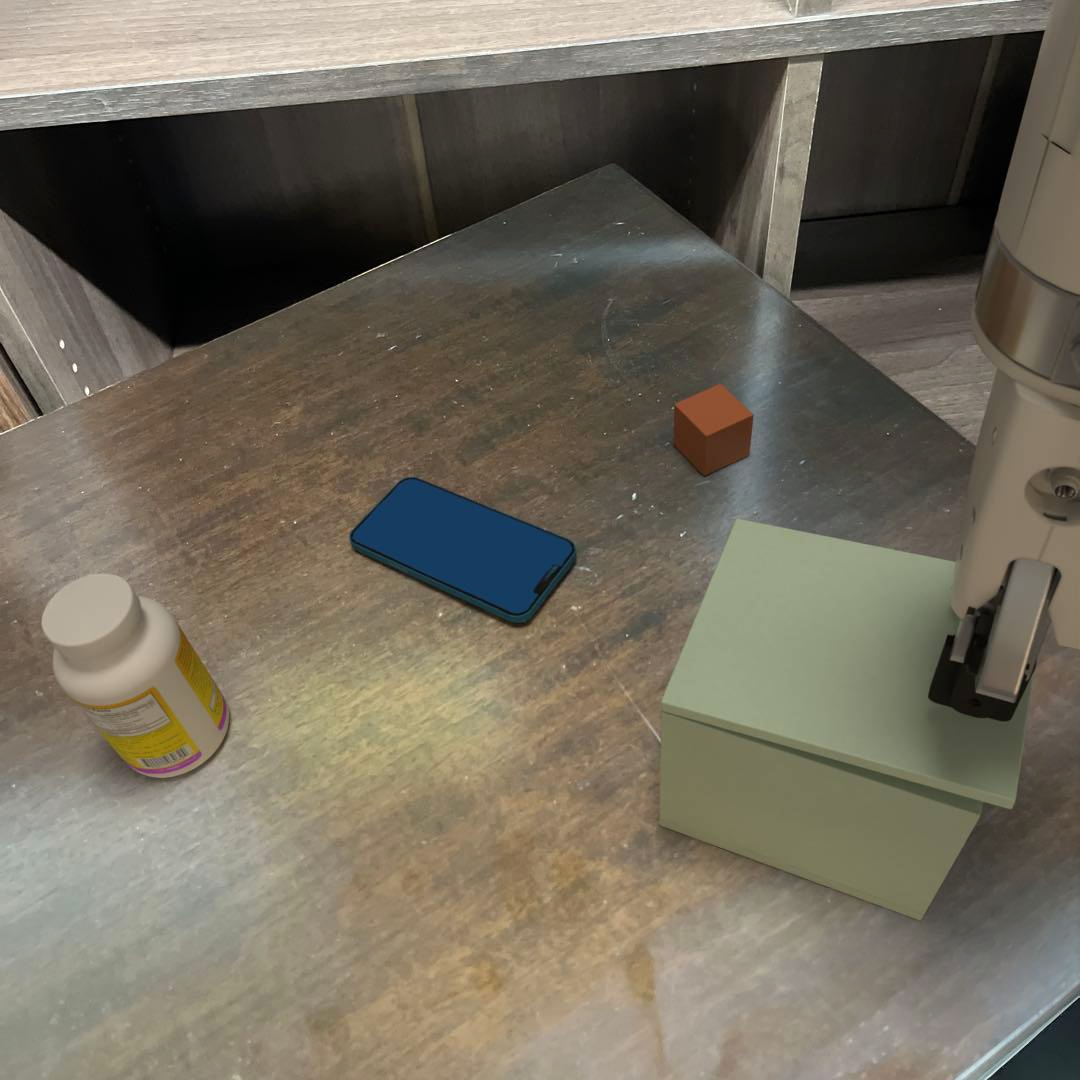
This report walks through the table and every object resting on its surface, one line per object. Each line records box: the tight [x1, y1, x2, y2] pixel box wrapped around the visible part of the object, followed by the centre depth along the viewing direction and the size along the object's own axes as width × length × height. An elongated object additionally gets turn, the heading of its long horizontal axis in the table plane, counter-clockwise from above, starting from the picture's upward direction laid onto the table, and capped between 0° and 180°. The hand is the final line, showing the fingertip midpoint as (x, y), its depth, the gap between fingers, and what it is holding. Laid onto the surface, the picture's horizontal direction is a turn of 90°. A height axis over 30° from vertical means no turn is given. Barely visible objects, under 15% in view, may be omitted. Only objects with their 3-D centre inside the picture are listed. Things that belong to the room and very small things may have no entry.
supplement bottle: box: [41, 572, 230, 779], centre depth 56 cm, size 7×7×13 cm
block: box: [672, 383, 755, 477], centre depth 71 cm, size 4×4×4 cm
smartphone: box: [348, 476, 578, 624], centre depth 68 cm, size 7×1×15 cm
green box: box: [658, 709, 984, 921], centre depth 51 cm, size 14×12×12 cm
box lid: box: [660, 518, 1036, 810], centre depth 43 cm, size 15×12×6 cm
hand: (979, 648), depth 42 cm, fingers closed on box lid, 5 cm apart
